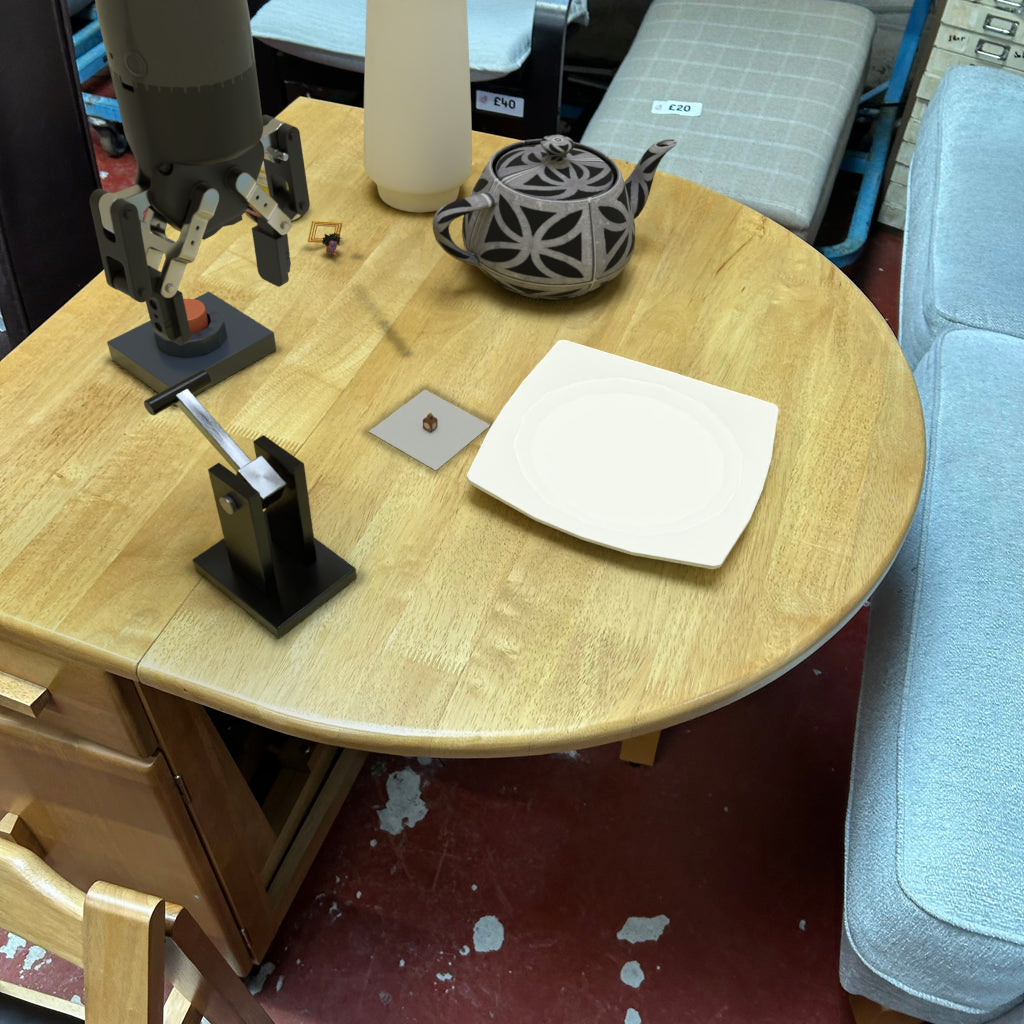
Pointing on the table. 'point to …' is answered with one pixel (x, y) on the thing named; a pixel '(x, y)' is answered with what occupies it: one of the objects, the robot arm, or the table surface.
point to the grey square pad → (429, 429)
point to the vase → (417, 102)
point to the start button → (196, 315)
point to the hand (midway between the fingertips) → (226, 308)
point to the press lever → (219, 436)
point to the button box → (194, 348)
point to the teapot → (551, 216)
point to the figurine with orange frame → (328, 240)
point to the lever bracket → (271, 547)
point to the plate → (629, 456)
